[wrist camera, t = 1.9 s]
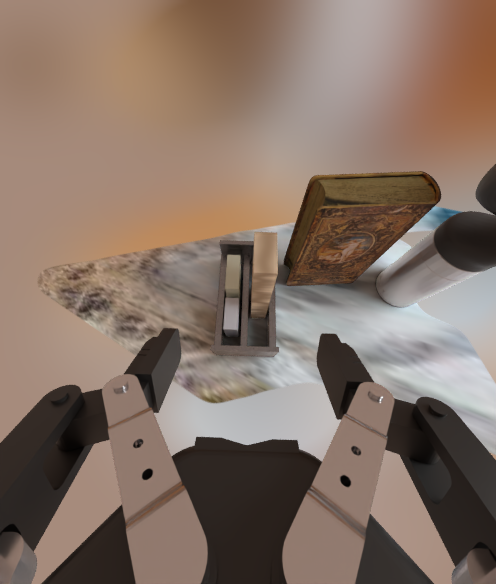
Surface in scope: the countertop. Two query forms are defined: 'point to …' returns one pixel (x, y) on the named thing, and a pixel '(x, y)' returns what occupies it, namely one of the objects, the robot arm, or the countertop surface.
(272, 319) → the rack
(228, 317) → the pale grey block
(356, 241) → the book
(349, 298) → the countertop surface
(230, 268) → the sage offcut
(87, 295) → the countertop surface
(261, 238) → the birch board
